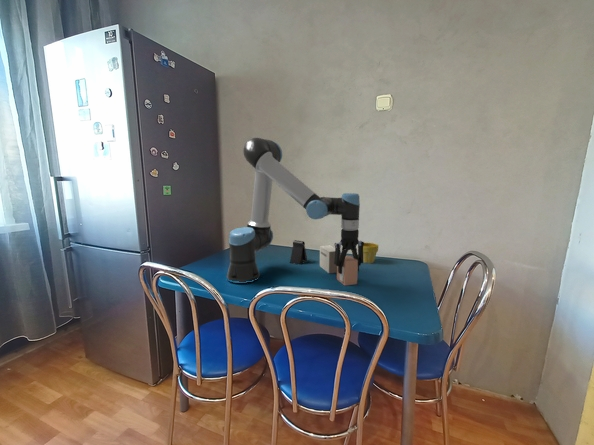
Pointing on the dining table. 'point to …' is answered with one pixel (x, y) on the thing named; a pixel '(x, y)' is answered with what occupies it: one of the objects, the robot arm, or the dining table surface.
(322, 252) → the white box
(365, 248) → the plant pot
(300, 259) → the black a-frame stand
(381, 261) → the dining table surface
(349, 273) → the salmon pink rectangular block
